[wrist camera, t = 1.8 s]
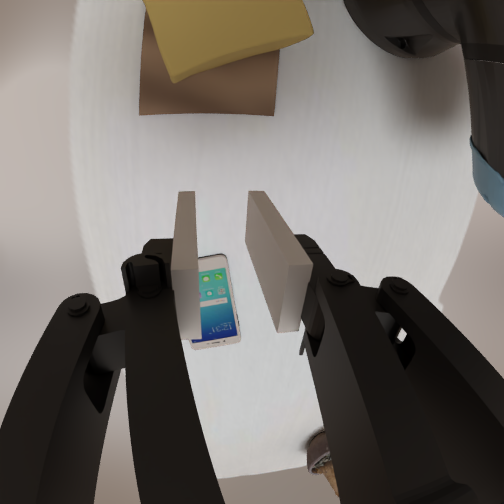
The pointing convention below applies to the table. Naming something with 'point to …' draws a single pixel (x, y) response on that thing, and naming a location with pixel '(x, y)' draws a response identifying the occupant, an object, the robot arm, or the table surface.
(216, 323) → the smartphone
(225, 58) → the cheese
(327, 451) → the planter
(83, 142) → the table surface
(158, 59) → the serving board
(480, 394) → the robot arm
